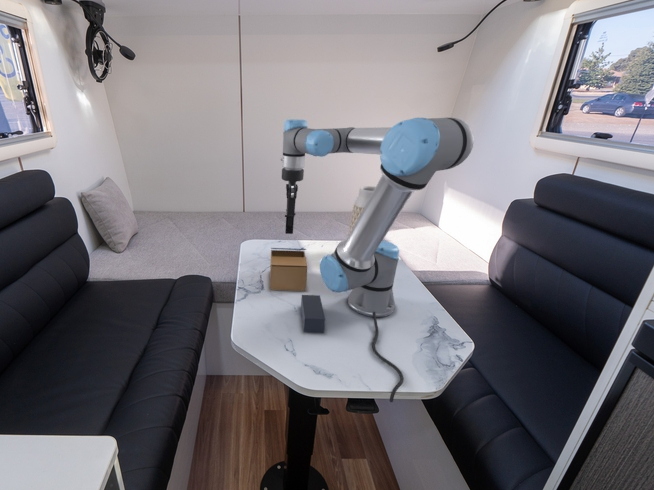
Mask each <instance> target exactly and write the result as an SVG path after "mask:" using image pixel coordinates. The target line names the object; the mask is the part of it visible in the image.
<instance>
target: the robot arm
mask: <svg viewBox="0 0 654 490" xmlns="http://www.w3.org/2000/svg"><path fill="white" fill-rule="evenodd" d="M282 133H283V135H282V157H280V161H281V163H282V167H283V168H282V169H281V179H282V180H283V181H284V182H288V183H286V184H285V189H286V190H285V191H286V194H285V195H286V209H285V211H286V213H285V214H284V218H285V235H286V234H287V235H293V234H294V223H295V222H294V221H295V216H296V200H297V195H298V190H299V186H298V183H297V182H301V181H303V180H304V176H305V175H304V174H305V170H304V168H305V164H306V154H307V155H310V156H313V157H320V158H321V157H322V158H323V157H326V156H328V155H329V154H342V153H345V154H347V153H348V154H363V155H364V154H366V155H379V159H380V173H381V174H382V175H381V177H380V179H379V180H378V182H377V184H376V186H375V187H376V188H375V189H374V191H373V193H372V195H371V197H370V198H369V200H368V202H367V204H366V206H365V207H364V209H363V211H362V213H361V215H360V217H359V218H358V220H357V222H356V224H355V226H354V227H353V229H352V231H351V233H350V235H349V236H348V235H347V237H348V238H346V239H344V240H341V241H339V242H338V244H337V246H336V247H335V249H334V251H333V253H332V254H327V255H325V256H323V257H321V259H320V263H319V273H320V276H321V278H322V281H323V284H324V285H325V286H326V287H327V288H328V290H330V291H331V292H333V293H344V292H347V291H350V293H349V294H348V299H347V305H348V307H349V309H351V310H352V311H353V312H355V313H357V314H359V315H362V316H365V317H370V318H373V323H374V327H375V334H374V338H373V340H372V344H371V347H372V351H373V353H374V354H375V355H376V357H377V358H379V359H380V360H381V361H382V362H384V363H385V364H387V365H388V366H390V367H391V368H393V370H395V371H396V372H397V374H398V375H399V380H398V382H397V384H396V385H394V387H393V388H392V391H391V393H390V395H389V402H390V403H393V402H394V399H395V395H396V392H397V391H398V389H400V387H401V386H402V385H403V383H404V381H405V377H404V375H403V373H402V370H400V368H399V367H398V366H396V365H395V364H394V363H393V362H391V361H389V360H388V359H386V358H385V357H383V356H382V355H381V354H380V353H379V352H378V350H377V348H376V343H377V341H378V338H379V326H378V320H377V318H385V317H388V316H390V315H392V314H393V313H394V311H395V306H396V305H395V304H396V301H395V296H394V290H393V288H394V287H393V286H394V283H395V277H396V272H397V267H398V264H399V263H398V262H399V260H400V249H399V247H398V246H397V245H396V244H394V243H393V242H390V241H387V240H384V239H385V238H386V236H387V234H388V233H389V232H390V230H391V228H392V227H393V225H394V224H395V223H396V221H397V219H398V218H399V216H400V215H401V213H402V212H403V211H404V208H405V207H406V205H407V203H408V202H410V201H409V200H410V199H411V198H412V196H413V194H414V193H415V192H417V191H421V190H423V189H425V188H426V187H427V185H428V184H429V182H430V181H431V180H432V178H433V177H434V175H435V173H436V172H438V171H446V170H450V169H453V168H456V167H457V166H460V165H461V164H462V163H464V162H465V161H466V159H467V158H468V157H470V154H471V153H472V151H473V148H474V143H475V137H474V132H473V130H472V128H471V126H470V125H469V124H468V123H467V122H466V121H464V120H462V119H460V118H457V117H435V118H434V117H431V118H429V117H428V118H427V117H414V118H410V119H409V118H408V119H404V120H402V121H399V122H397V123H396V124H394V125H393V126H392V127H391V126H390V127H389V126H388V127H385V126H384V127H382V126H381V127H353V126H352V127H350V126H349V127H339V128H338V127H337V128H311V127H310V128H309V127H308V122H307V120H305V119H291V118H290V119H286V120H285V121H284V127H283V131H282Z"/></svg>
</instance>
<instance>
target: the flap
mask: <svg viewBox="0 0 654 490" xmlns="http://www.w3.org/2000/svg"><path fill="white" fill-rule="evenodd" d="M270 249H271V250H285V251H306V250H307V248H290V247H289V248H286V247H271V248H270Z"/></svg>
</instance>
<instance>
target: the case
mask: <svg viewBox="0 0 654 490" xmlns="http://www.w3.org/2000/svg"><path fill="white" fill-rule="evenodd" d="M300 315H301V323H302V329H303V330H302V331H303V333H315V334H318V333H319V334H324V332H325V323H326V317H325V311H324V307H323V303H322V298H321V295H320V294H319V295H317V294H301V299H300Z"/></svg>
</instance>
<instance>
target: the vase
mask: <svg viewBox="0 0 654 490" xmlns="http://www.w3.org/2000/svg"><path fill="white" fill-rule="evenodd" d="M375 188H376V186H375V185H374V186H373V185H363V186H360V187H359V190H358V195H357V196H356V199H355V200H354V202H353V206H352V210H351V216H350V221H349V226H348V233H347V238H348V236H349V235H350V233H351V231H352V229H353V227H354V226H355V224H356V222H357V220H358V218H359V217H360V215H361V213H362V211H363V209H364V207H365V206H366V204H367V202H368V200H369V198H370V197H371V195H372V193H373V191H374V189H375ZM347 238H346V239H347Z"/></svg>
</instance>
